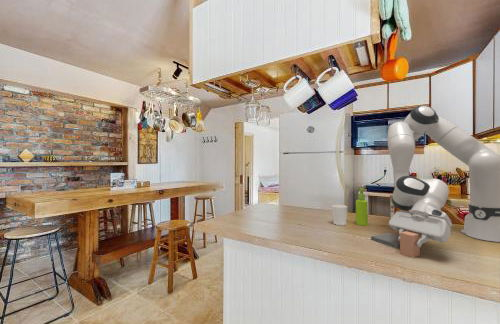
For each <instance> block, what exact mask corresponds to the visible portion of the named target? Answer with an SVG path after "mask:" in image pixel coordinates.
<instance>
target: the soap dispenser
mask: <svg viewBox="0 0 500 324" xmlns="http://www.w3.org/2000/svg"><path fill="white" fill-rule="evenodd" d="M356 190H359V193H358V194H357V199H356V200H355V224H356V225H357V226H362V227H363V226H365V227H366V226H367V227H368V225H369V221H368V220H369V219H368V218H369V217H368V202H369V201H368V200H366V194H364V191H365V187H364V188H363V187H356Z"/></svg>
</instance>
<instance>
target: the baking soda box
mask: <svg viewBox="0 0 500 324" xmlns="http://www.w3.org/2000/svg"><path fill="white" fill-rule="evenodd" d="M392 195H393V194H390V195H389V220H390V219H391V218H392V217H393V216H394V214H395V213H396V212H397V211H400V210H401V209H399V208H397V207H395V206H394V205H393V203H392V201H391V197H392ZM404 211H410V210H404Z"/></svg>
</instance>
